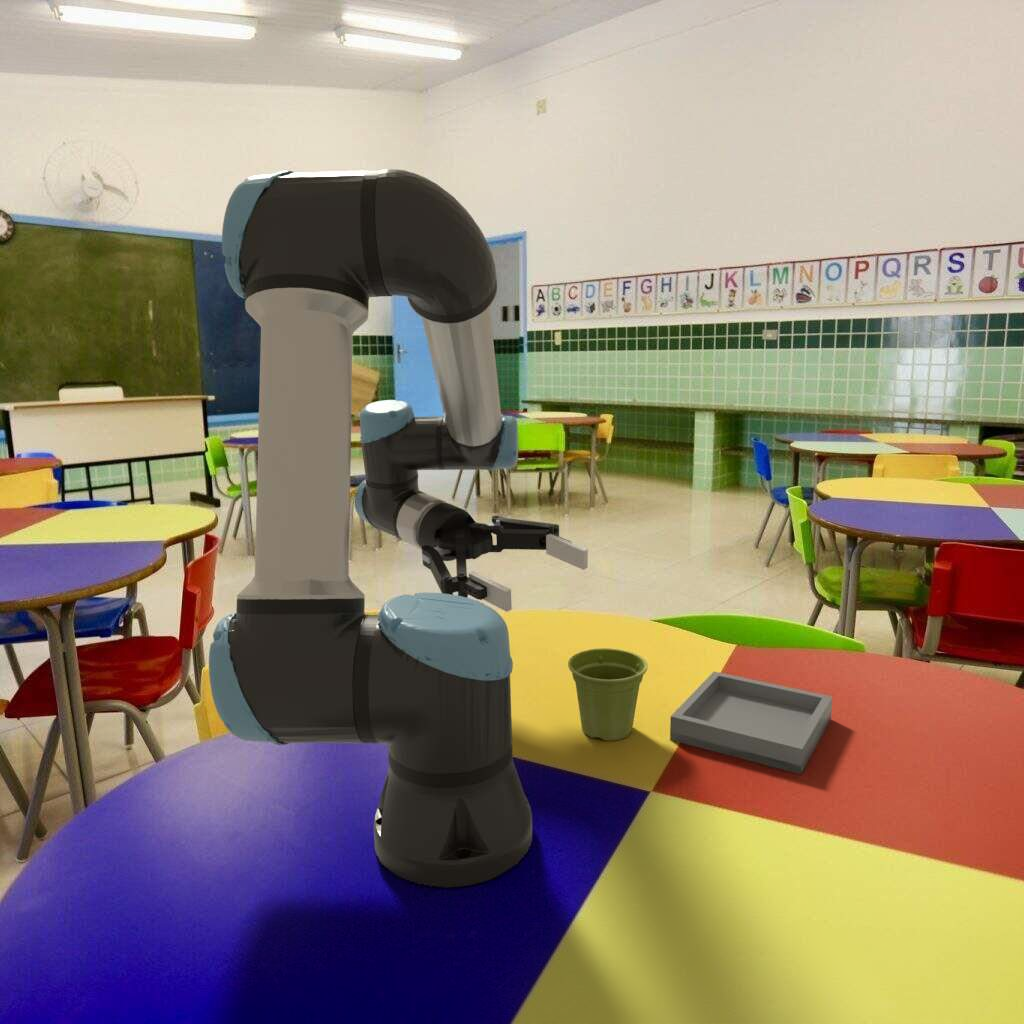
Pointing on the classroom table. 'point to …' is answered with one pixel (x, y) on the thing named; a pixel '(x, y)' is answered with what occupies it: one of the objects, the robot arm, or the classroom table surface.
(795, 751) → the tray
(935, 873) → the classroom table surface
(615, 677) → the plant pot
